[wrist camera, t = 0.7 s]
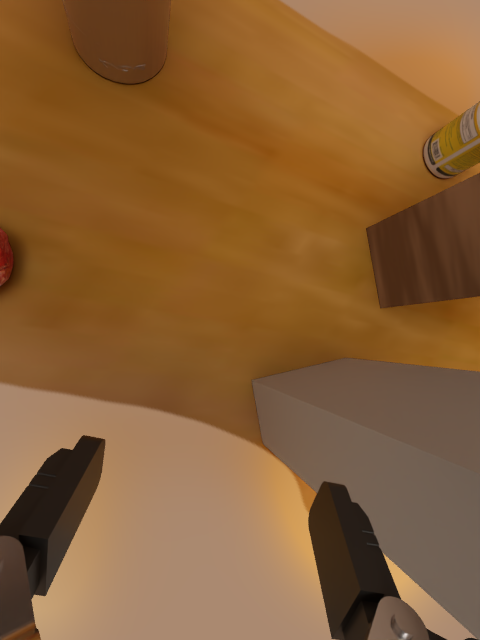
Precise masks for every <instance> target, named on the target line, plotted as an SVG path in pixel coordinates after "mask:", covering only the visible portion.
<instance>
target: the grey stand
mask: <svg viewBox="0 0 480 640" xmlns="http://www.w3.org/2000/svg"><path fill="white" fill-rule="evenodd" d="M252 386H253V391H254V397H255V402H256V408H257V414H258V419H259V425H260V430H261V436H262V441H263V444H264V445H265V446H266V447H267V448H268V449H269V450H270V451H272V452H273V453H274V454H275V455H276V456H277V457H278V458H279V459H280V460H281V461H283V462H284V463H285V464H286V465H287V466H288V467H289V468H290V469H291V470H292V471H294V472H295V473H296V474H297V475H298V476H299V477H300V478H301V479H302V480H303V481H305V482H306V483H307V484H308V485H309V486H310V487H311V488H312V489H313V490H314V491H316V492H317V493H318V491H319V488H320V486H321V484H322V483H323V482H324V481H327V482H332V483H337V484H343V485H345V486H346V488H347V490H348V493H349V495H350V498H351V501H352V502H355V503H358V504H359V505H360V507H361V508H362V509H363V511H364V512H365V513H366V515H367V516H368V518H369V520H370V523H371V525H372V528H373V530H374V535H376V538H377V540H378V543H379V548H381V550H382V552H383V553H384V554H385V555H386V556H387V557H388V558H389V559H390V560H391V561H392V562H394V563H395V564H396V565H397V566H398V567H399V568H400V569H401V570H402V571H403V572H404V573H406V574H407V575H408V576H409V577H410V578H411V579H412V580H413V581H414V582H415V583H417V584H418V585H419V586H420V587H421V588H422V589H423V590H424V591H425V592H426V593H428V594H429V595H430V596H431V597H432V598H433V599H434V600H435V601H436V602H437V603H439V604H440V605H441V606H442V607H443V608H444V609H445V610H446V611H447V612H448V613H450V614H451V615H452V616H453V617H454V618H455V619H456V620H457V621H458V622H460V623H461V624H462V625H463V626H464V627H465V628H466V629H467V630H468V631H469V632H470V633H472V634H473V635H474V636H475V637H476V638H477V639H478V640H480V372H476V371H467V370H457V369H448V368H438V367H429V366H419V365H410V364H400V363H391V362H381V361H372V360H362V359H353V358H343V359H339V360H335V361H330V362H326V363H322V364H318V365H314V366H309V367H305V368H301V369H297V370H292V371H288V372H284V373H280V374H275V375H271V376H267V377H263V378H259V379H254V380H252Z"/></svg>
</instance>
